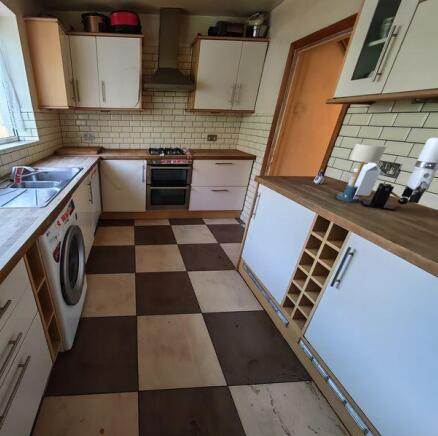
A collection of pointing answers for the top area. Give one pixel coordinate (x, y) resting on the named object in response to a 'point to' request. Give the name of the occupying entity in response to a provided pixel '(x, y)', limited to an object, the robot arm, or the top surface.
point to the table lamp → (362, 154)
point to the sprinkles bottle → (353, 176)
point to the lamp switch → (400, 200)
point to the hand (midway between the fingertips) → (409, 199)
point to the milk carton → (367, 179)
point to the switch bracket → (380, 198)
